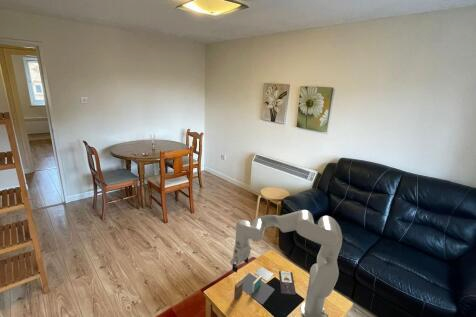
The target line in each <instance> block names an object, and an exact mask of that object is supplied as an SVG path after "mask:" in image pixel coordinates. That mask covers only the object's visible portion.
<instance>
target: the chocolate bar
mask: <svg viewBox="0 0 476 317" xmlns="http://www.w3.org/2000/svg"><path fill="white" fill-rule="evenodd" d="M293 274H294V273H293V271H284V270H283V271H282V270H279V271H278V276H279V284H280V285H279V287H280V294H284V295H292V296H293V295H294V296H297V292H296V287H295V281H294V275H293Z"/></svg>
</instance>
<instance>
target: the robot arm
mask: <svg viewBox="0 0 476 317" xmlns="http://www.w3.org/2000/svg"><path fill="white" fill-rule="evenodd" d="M235 225H236V226H235V238H234V239H235V243H234V248H233V253H232V259H231V260H230V261H229V263H230V265H231V270H232V271H233V272H235V273H238V268H239V266H238V265H240V264H242V263H243V262H244V263H246V264H248V263H249V257H250V255H251V250H252V247H251V244H250V240H252V241H255V242H259V241H261V240H263V238H264V233H265V229H267V228H272V227H276V228H278V229H279V230H280V231H281V232H282V233H288V232H293V231H296V233H297V234H298V235H300V236H301V237H303V238H305V239H307V240H309V241H312V242H314V243H317V244H320V245H321V246H320V249H319V252H318V253H317V257H316V263H314V264H312V266H311V267H310V268H309V269H310V270H309V277H308V283H307V284H308V285H307V289H306V290H307V291H306V296H305V301H304V302H303V303H302V305H301V307H300V309H301V310H300V311H301V314H302V316H303V317H330V316H329V314H328V313H326V312H325V307H324V304H325V300H326V298H327V297H329V296H330V295H331V294H332V293H333V290H334V287H335V286H336V283H337V282H338V279H339V276H340V275H339V274H340V272H339V266H338V256H339V253H340V251H341V248H342V245H343V234H342V230H341V226H340V225H339V223H338V222H337V220H336V219H335V218H334V217H332V216H329V215H323V216H321V217H320V218H319V219H318V221H317V224H316V223H315V222H314V217H313V214H312V213H311V211H309V210H307V209H301V210H298V211H293V212H290V213H287V214H281V215H277V214H265V215H262V216H261V215H260V216H258V217H255V218H254V219H253V220H252V221H251V222H249V221H248V219H240V220H238V221H237V222H236V224H235Z"/></svg>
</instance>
